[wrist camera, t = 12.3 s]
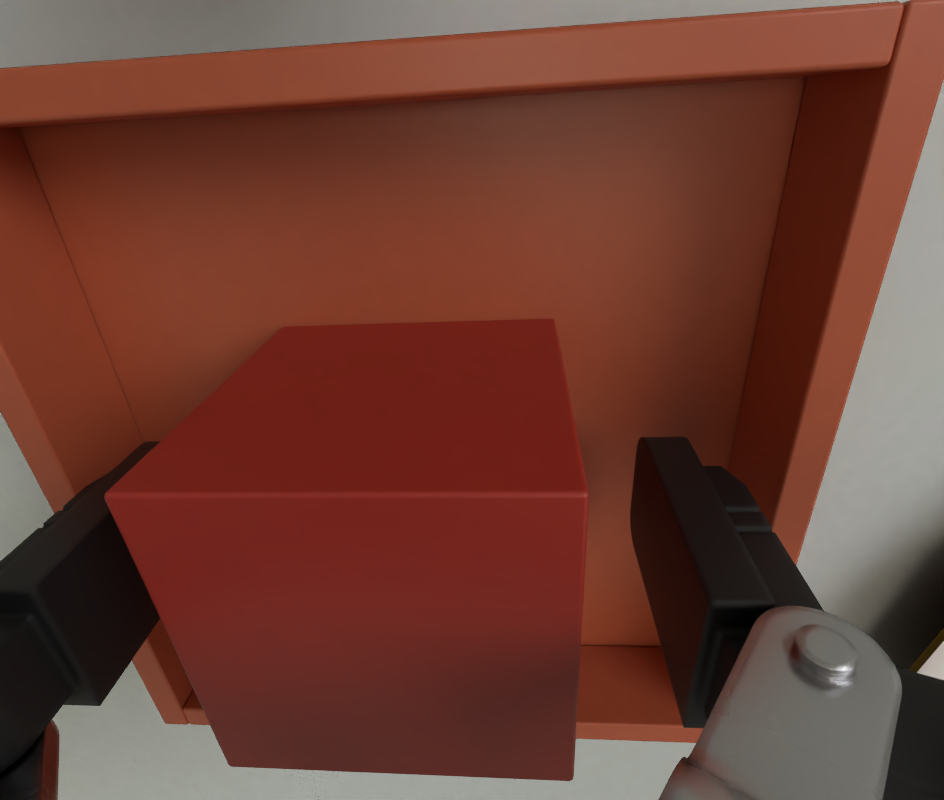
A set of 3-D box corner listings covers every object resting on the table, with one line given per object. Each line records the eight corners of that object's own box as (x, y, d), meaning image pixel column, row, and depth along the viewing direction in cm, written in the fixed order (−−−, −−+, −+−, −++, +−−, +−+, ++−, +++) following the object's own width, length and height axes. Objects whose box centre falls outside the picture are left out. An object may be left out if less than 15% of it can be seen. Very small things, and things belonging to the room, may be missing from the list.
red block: (329, 533, 12) (228, 768, 8) (281, 325, 10) (99, 494, 6) (551, 534, 12) (573, 782, 8) (555, 317, 10) (590, 493, 5)
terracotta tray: (215, 634, 15) (164, 724, 13) (-7, 87, 9) (-177, 81, 7) (706, 645, 14) (742, 745, 12) (843, 26, 8) (972, -6, 6)
